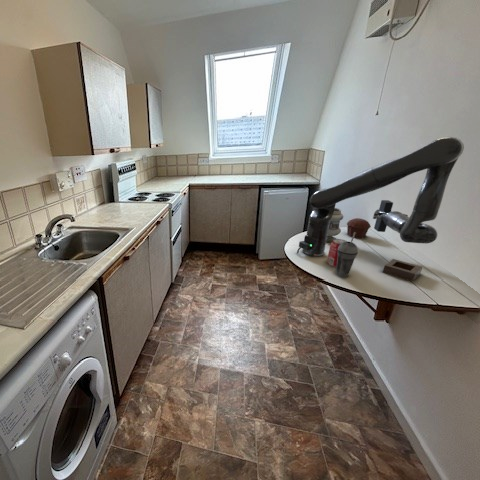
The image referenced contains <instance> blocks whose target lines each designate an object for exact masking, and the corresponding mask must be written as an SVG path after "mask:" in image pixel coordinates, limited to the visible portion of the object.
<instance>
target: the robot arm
mask: <svg viewBox="0 0 480 480" xmlns="http://www.w3.org/2000/svg"><path fill="white" fill-rule="evenodd" d="M464 151H465V144H464V142H463V141H462V140H461V139H460V138H457V137H453V136H443V137H440V138H437V139H434V140H433V141H431V142H430V143H428V144H425V145H424V146H422V147H419V148H418V149H415V150H414V151H412V152H410V153H408V154H406V155H403V156H401V157H399V158H394V159H392V160H388V161H386V162H383V163H380V164H378V165H375V166H373V167H372V166H371V168H367V169H365V170H363V171H362V172H359V173H357V174H355V175H353V176H351V177H350V178H348V179H346V180H343V181H342V182H341V183H338V184H336V185H334V186H331V187H328V188H322V189H319V190H317V191H315V192H314V193H313V194H312V195H311V197H310V198H309V205H310V206H311V207H312V208H313V209H312V211H311V213H310V215H309V218H308V223H307V229H306V234H305V235H304V240H300V241H299V242H298V249H297V251H296V254H300V253H299V252H300V250H301V249H302V250H301V252H302V253H303V254H306V255H308V256H310V257H322V256H324V255H325V250H326V245H327V242H326V240H327V235H328V231H329V226H330V221H331V218H332V216H333V213H334V209H335V208H336V205H337V204H338V203H341V202H343V201H344V200H347V199H351V198H354V197H358V196H361V195H364V194H368V193H371V192H374V191H376V190H379V189H382V188H385V187H388V186H389V185H392V184H394V183H396V182H399V181H400V180H402V179H404V178H406V177H408V176H411V175H413V174H415V173H418V172H421V171H425V170H426V172H425V177H424V180H423V182H422V184H421V187H420V189H419V191H418V194H417V196H416V199H415V202H414V205H413V208H412V211H411V214H410V215H409V216H408V214H405V213H402V212H401V211H396V210H395V211H394V210H391V212H390V213H387V212H382V211H380V210H379V209H376V210H375V211H374V213H373V215H372V219H373V220H376V219H377V218H380V219H381V220H383V221H384V223H385V225H387V227H388V228H389V229H391V230H393V231H395V232H397V233H398V234H399V237H400V239H401V241H403V242H404V243H409V244H410V243H411V244H422V245H423V244H425V245H427V244H431V243H434V242H435V241H436V240H437V238H438V230H437V229H436V228H434V227H433V226H432V225H430V224H427V223H425V222H431V221H435V220H436V218H437V217H438V214H439V211H440V208H441V205H442V201H443V198H444V194H445V190H446V186H447V183H448V180H449V178H450V175H451V174H452V171H453V168H454V166H455V164H456V163H457V161H458V160H459V158H460V157H461V155H462V154H464Z"/></svg>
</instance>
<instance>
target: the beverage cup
mask: <svg viewBox="0 0 480 480" xmlns="http://www.w3.org/2000/svg"><path fill="white" fill-rule="evenodd" d="M355 233H356V232H354V234H353V237H351V239H350V241H347V242H343V243H342V244H340V245H339V247H338V249H337V250H338V257H337V265H336V267H335V275H336V276H338V277H340V278H347V277H348V276H349V274H350V272H351V269H352V267H353V265H354V261H355V259H356V258H357V255H358V254H359V252H358V251H359V250H358V249H359V248H358V246H357V245H356V243H354V242H353V241H354V239H355V237H354V236H355Z"/></svg>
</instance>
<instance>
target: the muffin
mask: <svg viewBox="0 0 480 480" xmlns="http://www.w3.org/2000/svg"><path fill="white" fill-rule="evenodd" d="M346 226H347V229H346V230H347V231H346V235H347V236H348V237H351V238H352V237H353V234H354V232H356V233H355V236H354V239H355V238H358V239H362V238H365V237H366V236H367V233H368V231H369V229H370V228H372V226H371V223H370V222H369V221H368V220H366V219H363V218H358V217H357V218H352V219H349V220H348V221H347V222H346Z"/></svg>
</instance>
